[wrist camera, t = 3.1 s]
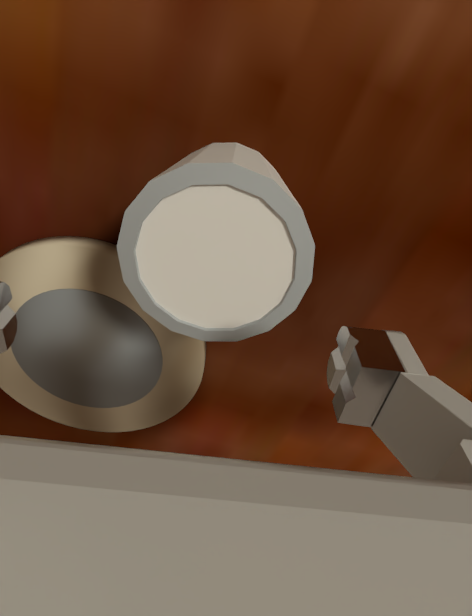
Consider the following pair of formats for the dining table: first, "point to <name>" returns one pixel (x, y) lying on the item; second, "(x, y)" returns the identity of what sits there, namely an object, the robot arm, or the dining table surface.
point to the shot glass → (217, 246)
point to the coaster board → (90, 341)
